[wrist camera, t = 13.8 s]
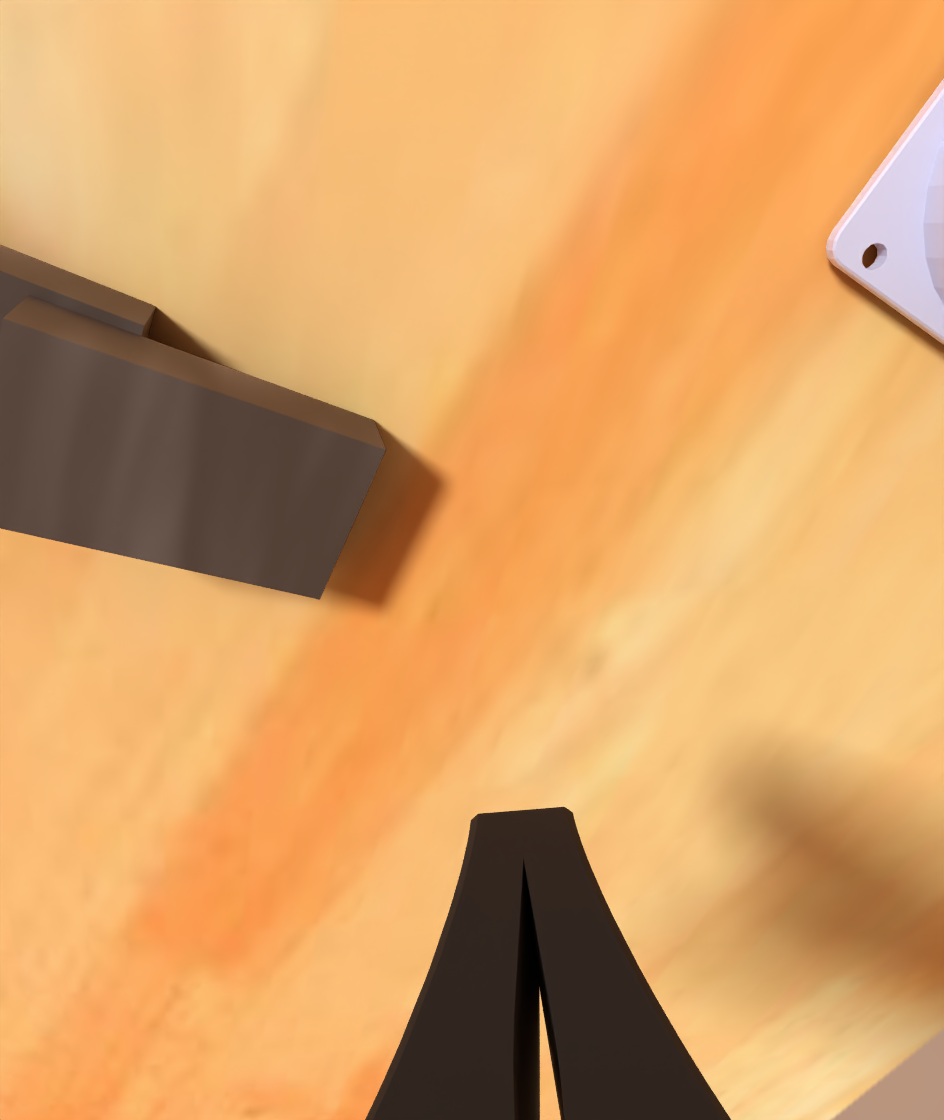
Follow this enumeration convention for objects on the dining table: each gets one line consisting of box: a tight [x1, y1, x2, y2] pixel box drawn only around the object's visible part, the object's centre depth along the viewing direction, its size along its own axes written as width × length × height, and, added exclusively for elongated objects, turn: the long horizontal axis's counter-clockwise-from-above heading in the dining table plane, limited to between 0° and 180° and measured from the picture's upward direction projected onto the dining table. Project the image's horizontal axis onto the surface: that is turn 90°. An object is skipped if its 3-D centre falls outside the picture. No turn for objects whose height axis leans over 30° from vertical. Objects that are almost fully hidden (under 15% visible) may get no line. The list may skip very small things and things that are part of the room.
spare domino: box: [0, 295, 386, 599], centre depth 15 cm, size 2×4×8 cm
